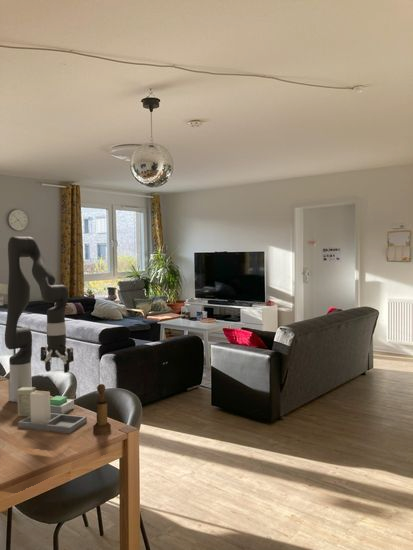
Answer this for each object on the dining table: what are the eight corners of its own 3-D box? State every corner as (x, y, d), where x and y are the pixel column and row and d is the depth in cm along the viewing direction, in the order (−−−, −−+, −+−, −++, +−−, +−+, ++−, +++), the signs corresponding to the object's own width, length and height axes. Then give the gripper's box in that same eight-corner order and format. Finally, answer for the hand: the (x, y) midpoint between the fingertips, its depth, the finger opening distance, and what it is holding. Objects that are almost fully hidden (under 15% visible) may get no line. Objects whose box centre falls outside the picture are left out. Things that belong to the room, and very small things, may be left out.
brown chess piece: (114, 431, 172) (113, 384, 171) (99, 436, 167) (98, 388, 166) (104, 426, 176) (103, 381, 175) (89, 431, 172) (88, 384, 171)
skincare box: (37, 416, 189) (36, 386, 188) (32, 419, 184) (31, 390, 184) (22, 415, 189) (21, 386, 189) (17, 419, 185) (16, 389, 184)
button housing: (42, 416, 188) (42, 404, 187) (55, 409, 196) (55, 398, 196) (61, 418, 185) (61, 406, 185) (74, 411, 194) (73, 399, 194)
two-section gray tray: (18, 431, 173) (17, 422, 173) (38, 419, 184) (37, 411, 184) (69, 437, 166) (69, 428, 166) (87, 425, 178) (86, 416, 178)
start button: (49, 406, 189) (49, 399, 189) (56, 402, 194) (56, 395, 194) (60, 407, 187) (60, 400, 187) (67, 403, 192) (67, 396, 192)
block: (31, 424, 176) (30, 393, 175) (37, 420, 180) (36, 390, 179) (44, 425, 174) (43, 394, 173) (50, 421, 178) (49, 391, 177)
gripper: (76, 332, 190) (77, 370, 191) (46, 330, 194) (48, 368, 195) (66, 335, 183) (67, 375, 184) (35, 334, 187) (36, 373, 188)
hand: (57, 371), depth 189 cm, fingers open, 8 cm apart
